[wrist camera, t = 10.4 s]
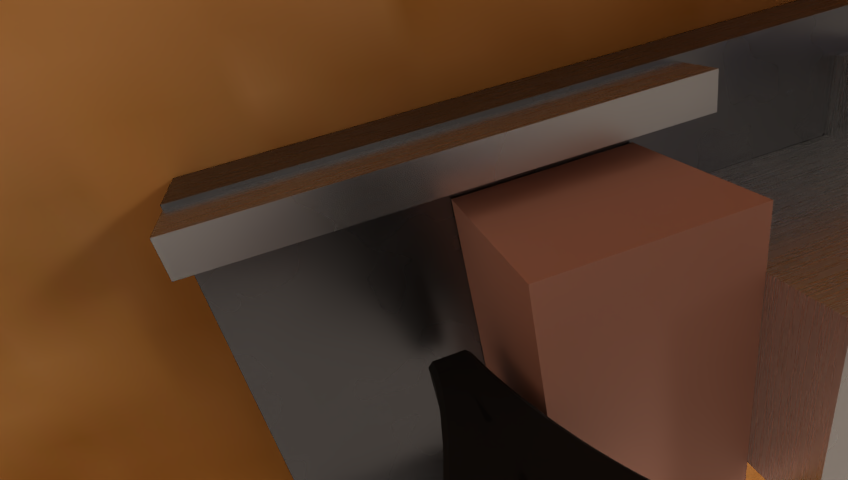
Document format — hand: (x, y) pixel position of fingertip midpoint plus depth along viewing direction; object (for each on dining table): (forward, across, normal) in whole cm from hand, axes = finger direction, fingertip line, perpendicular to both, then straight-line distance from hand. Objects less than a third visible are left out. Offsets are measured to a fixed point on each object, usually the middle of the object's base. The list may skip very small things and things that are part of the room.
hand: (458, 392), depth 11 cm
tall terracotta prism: (+1, -3, 0) cm, 3 cm away
